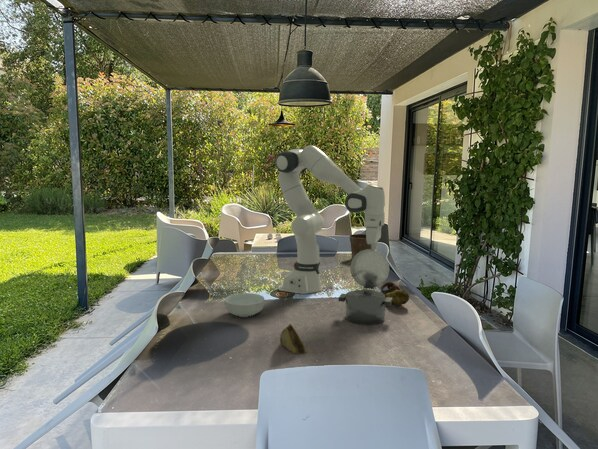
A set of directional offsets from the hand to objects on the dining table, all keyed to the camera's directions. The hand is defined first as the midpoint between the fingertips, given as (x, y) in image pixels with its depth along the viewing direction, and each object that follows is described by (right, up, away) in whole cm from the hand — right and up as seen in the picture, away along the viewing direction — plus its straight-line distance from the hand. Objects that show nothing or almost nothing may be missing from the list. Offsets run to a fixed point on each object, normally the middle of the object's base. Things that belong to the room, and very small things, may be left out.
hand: (374, 251), depth 204 cm
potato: (+10, -25, -2) cm, 27 cm away
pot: (-7, -27, -18) cm, 33 cm away
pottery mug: (+10, -23, +13) cm, 28 cm away
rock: (-37, -31, -48) cm, 68 cm away
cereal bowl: (-58, -27, -12) cm, 65 cm away
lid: (-4, -7, -12) cm, 14 cm away
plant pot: (+7, -12, +97) cm, 98 cm away
